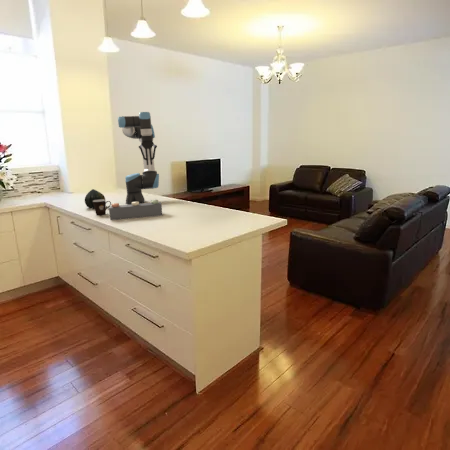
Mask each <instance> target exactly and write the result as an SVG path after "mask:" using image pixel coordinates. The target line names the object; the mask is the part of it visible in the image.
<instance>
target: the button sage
mask: <svg viewBox="0 0 450 450" xmlns="http://www.w3.org/2000/svg"><path fill="white" fill-rule="evenodd" d="M159 202H160V201H159V200H158V199H152V200H151V202H150V203H152V204H158V203H159Z"/></svg>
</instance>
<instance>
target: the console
mask: <svg viewBox="0 0 450 450" xmlns="http://www.w3.org/2000/svg"><path fill="white" fill-rule="evenodd" d="M108 211H109V219H110V221H115V220H116V221H117V220H128V218H129V219H136V218H137V219H138V218H139V219H140V218H148V217H149V218H150V217H158V216H159V217H161V216H163V207H162V202H161V201H159V203H158V204H152V203H151V202H144V203H140V204H139V205H136V206H132V204H121V205H120V204H119V207H112V205H110V207H109V208H108Z"/></svg>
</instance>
